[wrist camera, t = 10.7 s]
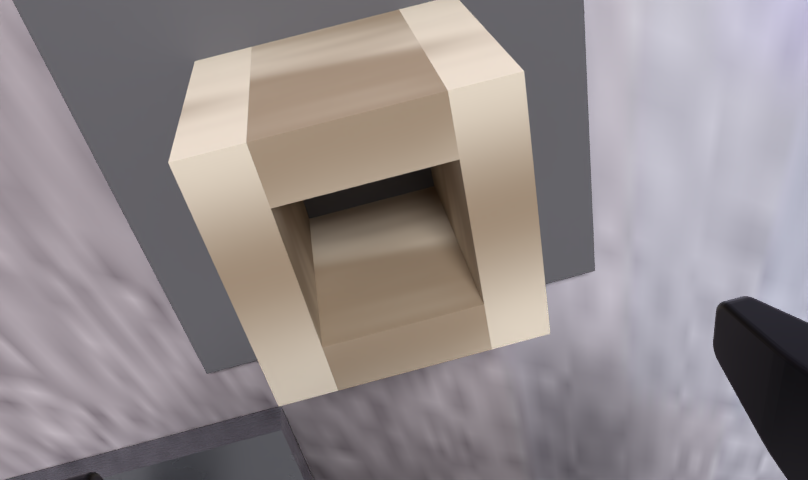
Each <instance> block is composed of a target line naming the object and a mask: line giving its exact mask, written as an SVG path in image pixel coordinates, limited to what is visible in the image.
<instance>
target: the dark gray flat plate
mask: <svg viewBox="0 0 808 480" xmlns="http://www.w3.org/2000/svg"><path fill="white" fill-rule="evenodd" d="M431 1H434V0H13V2H14V4H15V6H16V8H17V10H18V12H19V14H20V16H21V18H22V20H23V22H24V23H25V25H26V27H27V29H28V31H29V33H30V35H31V37H32V39H33V41H34V43H35V45H36V47H37V48H38V50H39V52H40V54H41V56H42V58H43V60H44V62H45V64H46V66H47V68H48V70H49V71H50V73H51V75H52V77H53V79H54V81H55V83H56V85H57V87H58V89H59V91H60V93H61V95H62V96H63V98H64V100H65V102H66V104H67V106H68V108H69V110H70V112H71V114H72V116H73V118H74V119H75V121H76V123H77V125H78V127H79V129H80V131H81V133H82V135H83V137H84V139H85V141H86V143H87V144H88V146H89V148H90V150H91V152H92V154H93V156H94V158H95V160H96V162H97V164H98V166H99V167H100V169H101V171H102V173H103V175H104V177H105V179H106V181H107V183H108V185H109V187H110V189H111V191H112V192H113V194H114V196H115V198H116V200H117V202H118V204H119V206H120V208H121V210H122V212H123V214H124V215H125V217H126V219H127V221H128V223H129V225H130V227H131V229H132V231H133V233H134V235H135V237H136V239H137V240H138V242H139V244H140V246H141V248H142V250H143V252H144V254H145V256H146V258H147V260H148V262H149V263H150V265H151V267H152V269H153V271H154V273H155V275H156V277H157V279H158V281H159V283H160V285H161V287H162V288H163V290H164V292H165V294H166V296H167V298H168V300H169V302H170V304H171V306H172V308H173V310H174V311H175V313H176V315H177V317H178V319H179V321H180V323H181V325H182V327H183V329H184V331H185V333H186V335H187V336H188V338H189V340H190V342H191V344H192V346H193V348H194V350H195V352H196V354H197V356H198V358H199V359H200V361H201V363H202V365H203V367H204V369H205V371H206V373H207V374H208V373H211V372H215V371H219V370H223V369H227V368H230V367H234V366H238V365H242V364H245V363H249V362H253V361H257V358H256V355H255V353H254V351H253V349H252V346H251V344H250V342H249V340H248V338H247V335H246V333H245V331H244V329H243V327H242V324H241V322H240V320H239V318H238V316H237V313H236V311H235V309H234V307H233V305H232V302H231V300H230V298H229V296H228V294H227V291H226V289H225V287H224V285H223V283H222V280H221V278H220V276H219V274H218V272H217V269H216V267H215V265H214V263H213V261H212V258H211V256H210V254H209V252H208V249H207V247H206V245H205V243H204V241H203V238H202V236H201V234H200V232H199V230H198V227H197V225H196V223H195V221H194V219H193V216H192V214H191V212H190V210H189V208H188V205H187V203H186V201H185V199H184V197H183V194H182V192H181V190H180V188H179V186H178V183H177V181H176V179H175V177H174V175H173V172H172V170H171V168H170V166H169V164H168V161H169V158H170V154H171V150H172V146H173V142H174V138H175V135H176V131H177V127H178V123H179V119H180V116H181V112H182V108H183V104H184V100H185V97H186V93H187V89H188V85H189V81H190V78H191V74H192V70H193V66H194V62H195V61H198V60H202V59H206V58H209V57H213V56H217V55H221V54H225V53H229V52H233V51H237V50H241V49H245V48H249V47H253V46H257V45H261V44H265V43H269V42H273V41H277V40H281V39H284V38H288V37H292V36H296V35H300V34H304V33H308V32H312V31H316V30H320V29H324V28H328V27H332V26H336V25H340V24H344V23H348V22H352V21H356V20H359V19H363V18H367V17H371V16H375V15H379V14H383V13H387V12H391V11H395V10H399V9H403V8H407V7H411V6H415V5H419V4H423V3H427V2H431ZM460 2H461V3H462V4H463V5H464V6H465V7H466V8H467V9H468V10H469V11H470V12H471V14H472V15H473V16H474V17H475V18H476V19H477V20H478V21H479V22H480V23H481V24H482V26H483V27H484V28H485V29H486V30H487V31H488V32H489V33H490V34H491V35H492V36H493V38H494V39H495V40H496V41H497V42H498V43H499V44H500V45H501V46H502V47H503V49H504V50H505V51H506V52H507V53H508V54H509V55H510V56H511V57H512V58H513V59H514V61H515V62H516V63H517V64H518V65H519V66H520V67H521V68H522V69H523V70H524V74H525V84H526V94H527V104H528V115H529V125H530V135H531V145H532V155H533V165H534V175H535V185H536V195H537V205H538V215H539V226H540V236H541V246H542V256H543V266H544V276H545V284H547V283H551V282H554V281H558V280H562V279H566V278H570V277H573V276H577V275H581V274H585V273H588V272H592V271H595V262H594V238H593V214H592V191H591V167H590V143H589V119H588V96H587V72H586V48H585V24H584V1H583V0H460ZM433 186H434V182H433V177H432V172H431V167H429V168H425V169H421V170H417V171H413V172H409V173H406V174H402V175H398V176H394V177H390V178H386V179H382V180H379V181H375V182H371V183H367V184H363V185H359V186H356V187H352V188H348V189H344V190H340V191H336V192H333V193H329V194H325V195H321V196H317V197H313V198H309V199H306V200H303V202H304V205H305V208H306V211H307V214H308V217H309V219H310V218H314V217H318V216H322V215H326V214H330V213H333V212H337V211H341V210H345V209H349V208H353V207H356V206H360V205H364V204H368V203H372V202H376V201H379V200H383V199H387V198H391V197H395V196H399V195H402V194H406V193H410V192H414V191H418V190H422V189H425V188H429V187H433Z"/></svg>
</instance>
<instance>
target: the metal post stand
mask: <svg viewBox="0 0 808 480" xmlns="http://www.w3.org/2000/svg"><path fill="white" fill-rule="evenodd" d="M92 471H94V472H96V473H98V474H99V475H100V476H101V477H102V478H103V479H104V480H314V479H313V477H312V475H311V472H310V470H309V468H308V466H307V463H306V461H305V459H304V457H303V455H302V452H301V450H300V448H299V446H298V443H297V441H296V439H295V437H294V434H293V432H292V430H291V428H290V426H289V423H288V421H287V419H286V417H285V414H284V412H283V410H282V408H281V406H279V407H276V408H272V409H268V410H264V411H261V412H257V413H253V414H249V415H246V416H242V417H238V418H234V419H231V420H227V421H223V422H219V423H216V424H212V425H208V426H204V427H201V428H197V429H193V430H190V431H186V432H182V433H178V434H175V435H171V436H167V437H163V438H160V439H156V440H152V441H148V442H145V443H141V444H137V445H133V446H130V447H126V448H122V449H118V450H115V451H111V452H107V453H104V454H100V455H96V456H92V457H89V458H85V459H81V460H77V461H74V462H70V463H66V464H62V465H59V466H55V467H51V468H47V469H44V470H40V471H36V472H32V473H29V474H25V475H21V476H18V477H14V478H10V479H6V480H64V479H66V478H68V477H71V476H75V475H79V474H83V473H86V472H92Z"/></svg>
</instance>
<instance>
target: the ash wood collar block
mask: <svg viewBox="0 0 808 480" xmlns="http://www.w3.org/2000/svg"><path fill="white" fill-rule="evenodd" d="M168 164H169V166H170V168H171V170H172V172H173V175H174V177H175V179H176V181H177V183H178V186H179V188H180V190H181V192H182V194H183V197H184V199H185V201H186V203H187V205H188V208H189V210H190V212H191V214H192V216H193V219H194V221H195V223H196V225H197V227H198V230H199V232H200V234H201V236H202V238H203V241H204V243H205V245H206V247H207V249H208V252H209V254H210V256H211V258H212V261H213V263H214V265H215V267H216V269H217V272H218V274H219V276H220V278H221V280H222V283H223V285H224V287H225V289H226V291H227V294H228V296H229V298H230V300H231V302H232V305H233V307H234V309H235V311H236V313H237V316H238V318H239V320H240V322H241V324H242V327H243V329H244V331H245V333H246V335H247V338H248V340H249V342H250V344H251V346H252V349H253V351H254V353H255V355H256V358H257V360H258V362H259V364H260V366H261V369H262V371H263V373H264V375H265V377H266V380H267V382H268V384H269V386H270V388H271V391H272V393H273V395H274V397H275V399H276V402H277V404H278V406H283V405H287V404H291V403H294V402H298V401H302V400H305V399H309V398H313V397H317V396H320V395H324V394H328V393H331V392H335V391H339V390H343V389H346V388H350V387H354V386H358V385H361V384H365V383H369V382H372V381H376V380H380V379H384V378H387V377H391V376H395V375H399V374H402V373H406V372H410V371H413V370H417V369H421V368H425V367H428V366H432V365H436V364H439V363H443V362H447V361H451V360H454V359H458V358H462V357H466V356H469V355H473V354H477V353H480V352H484V351H488V350H492V349H495V348H499V347H503V346H507V345H510V344H514V343H518V342H521V341H525V340H529V339H533V338H536V337H540V336H544V335H547V334H550V327H549V316H548V306H547V296H546V286H545V276H544V266H543V256H542V246H541V236H540V226H539V215H538V205H537V195H536V185H535V175H534V165H533V155H532V145H531V135H530V125H529V115H528V104H527V94H526V84H525V74H524V70H523V69H522V68H521V67H520V66H519V65H518V64H517V63H516V62H515V61H514V59H513V58H512V57H511V56H510V55H509V54H508V53H507V52H506V51H505V50H504V49H503V47H502V46H501V45H500V44H499V43H498V42H497V41H496V40H495V39H494V38H493V36H492V35H491V34H490V33H489V32H488V31H487V30H486V29H485V28H484V27H483V26H482V24H481V23H480V22H479V21H478V20H477V19H476V18H475V17H474V16H473V15H472V14H471V12H470V11H469V10H468V9H467V8H466V7H465V6H464V5H463V4H462V3H461V2H460V0H434V1H431V2H427V3H423V4H419V5H415V6H411V7H407V8H403V9H399V10H395V11H391V12H387V13H383V14H379V15H375V16H371V17H367V18H363V19H359V20H356V21H352V22H348V23H344V24H340V25H336V26H332V27H328V28H324V29H320V30H316V31H312V32H308V33H304V34H300V35H296V36H292V37H288V38H284V39H281V40H277V41H273V42H269V43H265V44H261V45H257V46H253V47H249V48H245V49H241V50H237V51H233V52H229V53H225V54H221V55H217V56H213V57H209V58H206V59H202V60H198V61H195V62H194V66H193V70H192V74H191V78H190V81H189V85H188V89H187V93H186V97H185V100H184V104H183V108H182V112H181V116H180V119H179V123H178V127H177V131H176V135H175V138H174V142H173V146H172V150H171V154H170V158H169V161H168ZM429 167H431V172H432V177H433V182H434V186H433V187H429V188H425V189H422V190H418V191H414V192H410V193H406V194H402V195H399V196H395V197H391V198H387V199H383V200H379V201H376V202H372V203H368V204H364V205H360V206H356V207H353V208H349V209H345V210H341V211H337V212H333V213H330V214H326V215H322V216H318V217H314V218H310V219H309V217H308V214H307V211H306V208H305V205H304V202H303V200H306V199H309V198H313V197H317V196H321V195H325V194H329V193H333V192H336V191H340V190H344V189H348V188H352V187H356V186H359V185H363V184H367V183H371V182H375V181H379V180H382V179H386V178H390V177H394V176H398V175H402V174H406V173H409V172H413V171H417V170H421V169H425V168H429Z"/></svg>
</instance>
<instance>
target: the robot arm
mask: <svg viewBox="0 0 808 480" xmlns="http://www.w3.org/2000/svg"><path fill="white" fill-rule="evenodd" d="M713 348H714V352H715V355H716V358H717V360H718V362H719V364H720V365H721V367H722V369H723V371H724V373H725V375H726V376H727V378H728V380H729V382H730V384H731V385H732V387H733V389H734V391H735V393H736V394H737V396H738V398H739V400H740V402H741V404H742V405H743V407H744V409H745V411H746V413H747V414H748V416H749V418H750V420H751V422H752V424H753V425H754V427H755V429H756V431H757V433H758V434H759V436H760V438H761V440H762V441H763V443H764V445H765V446H766V448H767V450H768V452H769V453H770V455H771V456H772V458H773V459H774V461H775V462H776V464H777V465H778V467H779V468H780V469H781V471H782V472H783V474H784V475H785V477H786V478H787V479H788V480H808V322H805V321H803V320H801V319H799V318H797V317H794V316H792V315H790V314H788V313H785V312H783V311H781V310H779V309H777V308H774V307H772V306H770V305H768V304H766V303H763V302H761V301H759V300H757V299H754V298H752V297H748V296H743V297H739V298H735V299H731V300H727V301H724V302H721V303H720V304H719V305H718V307H717V309H716V317H715V327H714V338H713ZM64 480H104V479H103V478H102V477H101V476H100V475H99V474H98V473H96V472H94V471H92V472H86V473H83V474H79V475H75V476H71V477H68V478H66V479H64Z"/></svg>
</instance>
